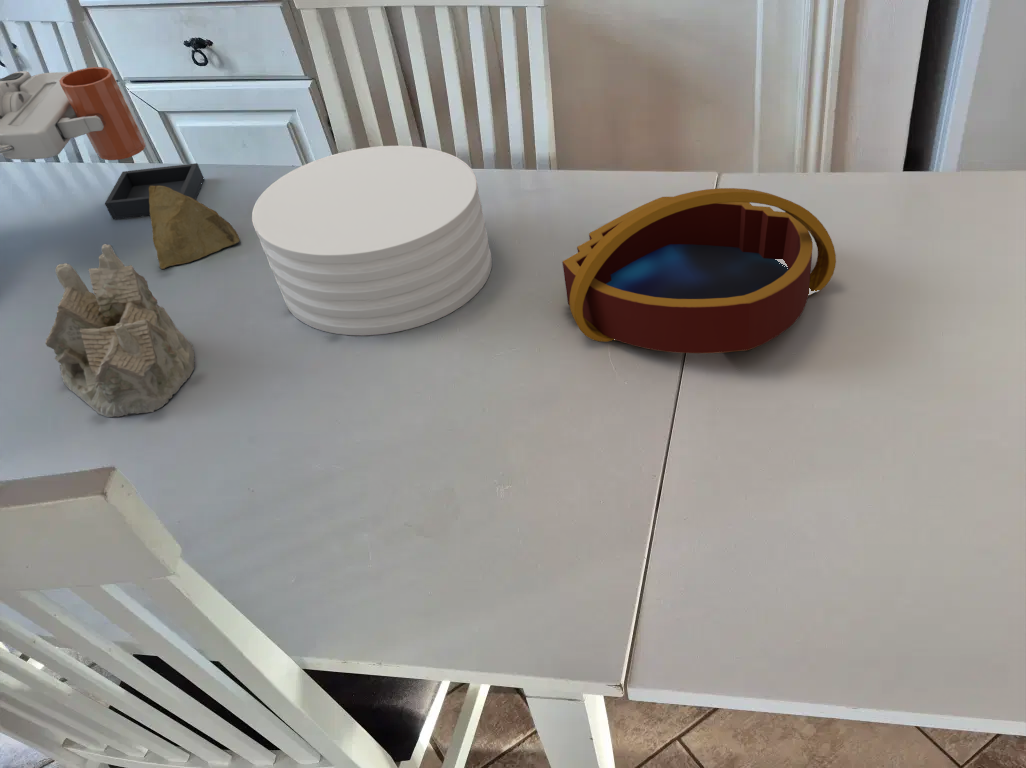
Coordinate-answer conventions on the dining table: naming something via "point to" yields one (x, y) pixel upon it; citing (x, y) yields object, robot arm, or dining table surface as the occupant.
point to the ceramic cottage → (117, 340)
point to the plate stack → (375, 239)
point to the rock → (185, 227)
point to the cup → (104, 112)
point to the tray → (134, 188)
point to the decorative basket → (698, 272)
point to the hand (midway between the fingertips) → (111, 109)
